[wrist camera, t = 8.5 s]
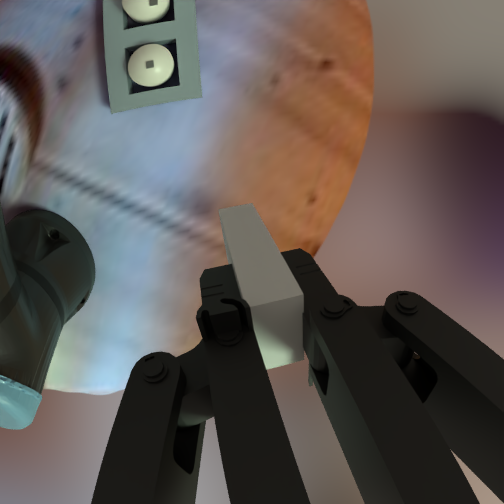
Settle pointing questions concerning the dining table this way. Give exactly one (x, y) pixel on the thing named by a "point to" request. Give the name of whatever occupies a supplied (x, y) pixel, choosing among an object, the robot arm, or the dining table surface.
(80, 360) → the dining table surface
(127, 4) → the button
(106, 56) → the button board
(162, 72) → the button
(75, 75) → the dining table surface
